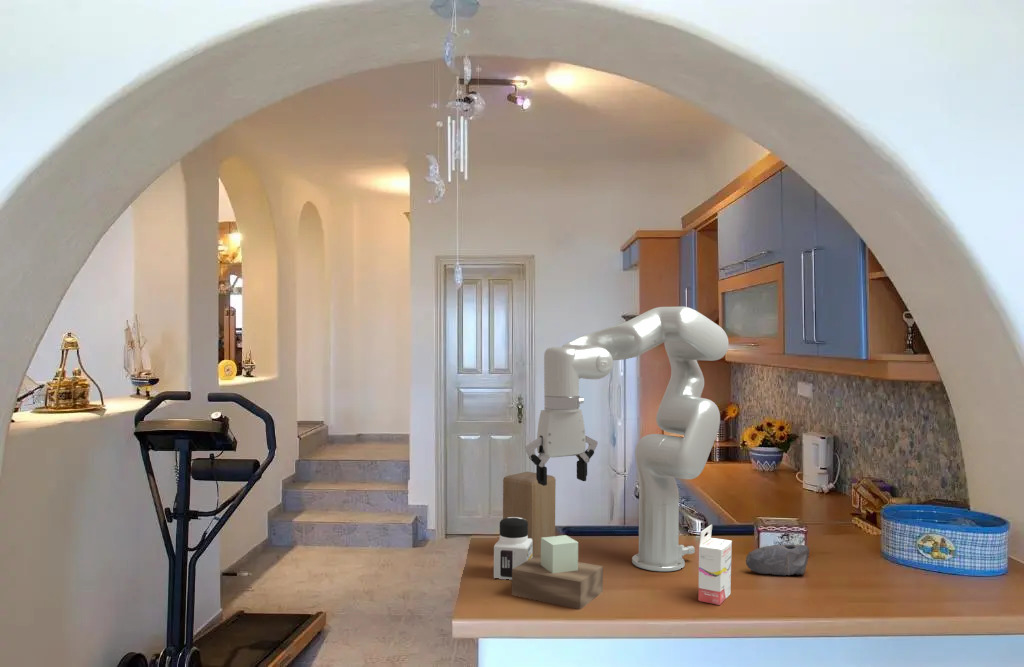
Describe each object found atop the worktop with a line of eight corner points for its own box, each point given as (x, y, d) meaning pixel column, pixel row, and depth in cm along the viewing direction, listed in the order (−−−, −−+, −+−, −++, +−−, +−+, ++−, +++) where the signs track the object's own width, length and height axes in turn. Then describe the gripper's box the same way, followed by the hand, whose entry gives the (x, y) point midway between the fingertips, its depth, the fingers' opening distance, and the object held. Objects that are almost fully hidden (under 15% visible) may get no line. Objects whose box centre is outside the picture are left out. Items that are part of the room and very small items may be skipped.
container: (526, 581, 172) (527, 524, 171) (493, 579, 173) (493, 522, 173) (532, 571, 179) (533, 516, 179) (500, 568, 181) (501, 514, 181)
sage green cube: (565, 562, 168) (565, 535, 168) (577, 570, 162) (578, 542, 162) (540, 565, 166) (541, 537, 166) (552, 573, 160) (552, 545, 160)
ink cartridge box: (721, 606, 157) (721, 535, 157) (697, 601, 160) (698, 531, 160) (732, 593, 165) (732, 526, 165) (709, 589, 167) (710, 523, 167)
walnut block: (537, 581, 173) (537, 554, 173) (602, 593, 165) (602, 566, 165) (511, 597, 163) (512, 569, 163) (580, 611, 155) (580, 582, 155)
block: (500, 555, 191) (501, 475, 191) (526, 546, 199) (526, 470, 199) (531, 563, 185) (532, 481, 185) (556, 554, 193) (557, 475, 192)
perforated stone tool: (747, 576, 176) (748, 546, 176) (743, 569, 182) (743, 540, 182) (814, 579, 175) (814, 549, 175) (807, 571, 180) (808, 542, 180)
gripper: (587, 400, 172) (588, 475, 172) (518, 404, 165) (518, 482, 165) (604, 403, 165) (605, 481, 166) (533, 407, 158) (533, 489, 158)
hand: (562, 482), depth 165 cm, fingers open, 9 cm apart
